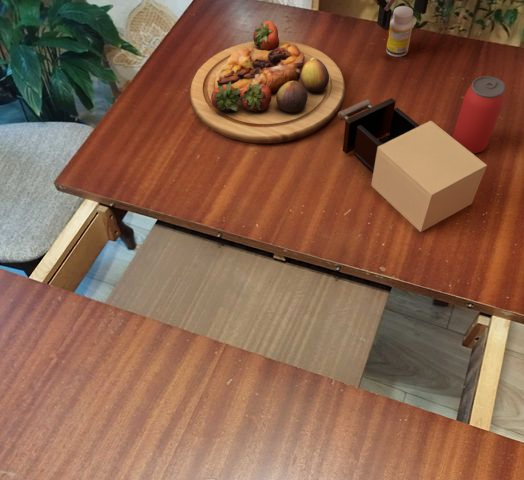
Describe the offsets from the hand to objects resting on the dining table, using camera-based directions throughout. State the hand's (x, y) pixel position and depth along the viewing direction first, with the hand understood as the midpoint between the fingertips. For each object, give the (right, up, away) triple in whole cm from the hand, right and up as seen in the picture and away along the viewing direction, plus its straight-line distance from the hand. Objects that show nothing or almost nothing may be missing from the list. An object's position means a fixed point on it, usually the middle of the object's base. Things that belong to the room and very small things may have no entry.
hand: (401, 18), depth 112 cm
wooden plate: (-28, -16, +1) cm, 32 cm away
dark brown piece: (-7, -32, -11) cm, 34 cm away
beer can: (+10, -30, -10) cm, 33 cm away
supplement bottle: (+1, -4, +6) cm, 7 cm away
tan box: (-1, -41, -16) cm, 44 cm away
